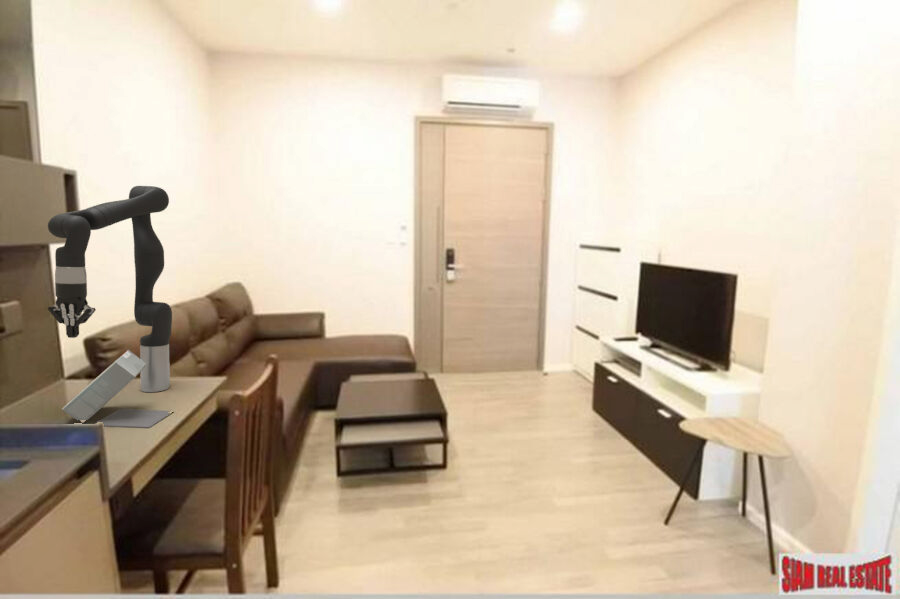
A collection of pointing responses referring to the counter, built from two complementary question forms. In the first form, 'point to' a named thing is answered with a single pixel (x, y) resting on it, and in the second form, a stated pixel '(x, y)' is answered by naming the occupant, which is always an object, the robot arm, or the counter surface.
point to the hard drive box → (105, 386)
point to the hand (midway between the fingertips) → (72, 337)
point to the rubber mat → (134, 418)
